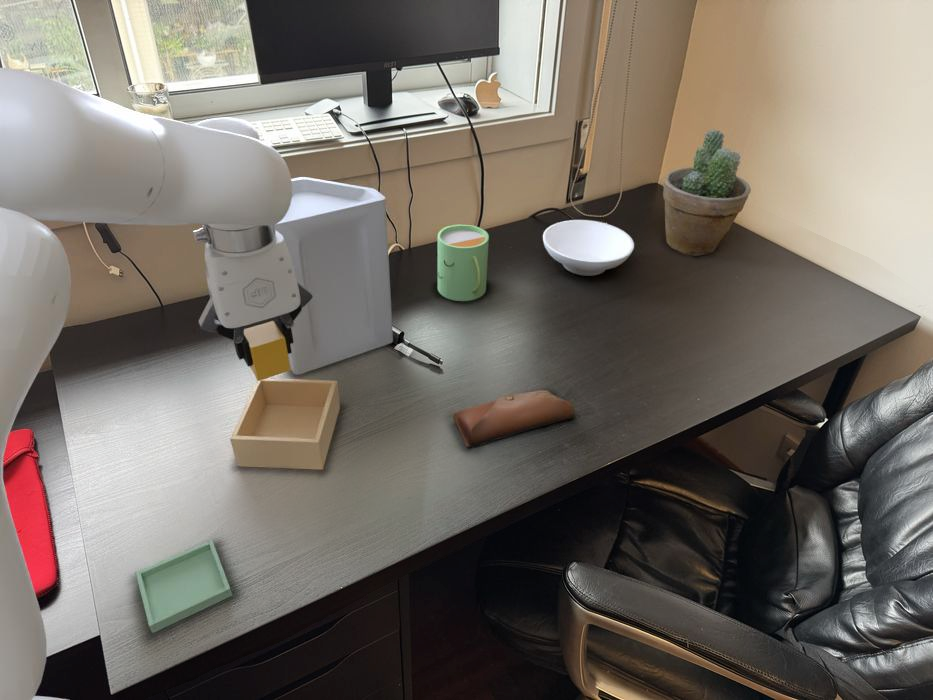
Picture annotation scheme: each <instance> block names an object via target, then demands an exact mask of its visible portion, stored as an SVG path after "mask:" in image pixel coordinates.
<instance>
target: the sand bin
mask: <svg viewBox="0 0 933 700" xmlns="http://www.w3.org/2000/svg"><path fill="white" fill-rule="evenodd" d="M247 398H248V399H247V401H246V402H245V405H244V407H243V409H242V411H241V414H240V416H239V418H238V420H237V423H236V424H235V426H234V429H233V431H232V433H231V435H230V438H229V440H230V444H231V448H232V451H233V454H234V455H233V456H234V458H235V462H236V466H237V467H244V468H247V467H248V468H269V469H270V468H271V469H292V470H293V469H296V470H319V471H322V470H324V467H325V463H326V460H327V456H328V453H329V450H330V446H331V442H332V439H333V434H334V431H335V428H336V423H337V421H338V417H339V413H340V409H341V403H340V394H339V386H338V381H337V380H326V379H325V380H323V379H321V380H320V379H302V378H301V379H300V378H299V379H298V378H296V379H295V378H275V377H274V378H272V377H269V378H266V379H263V380H260V381H258V380H257V379H256V380H255V383H254V385H253V387H252V390H251V391H250V394H249V396H248V397H247Z"/></svg>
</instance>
